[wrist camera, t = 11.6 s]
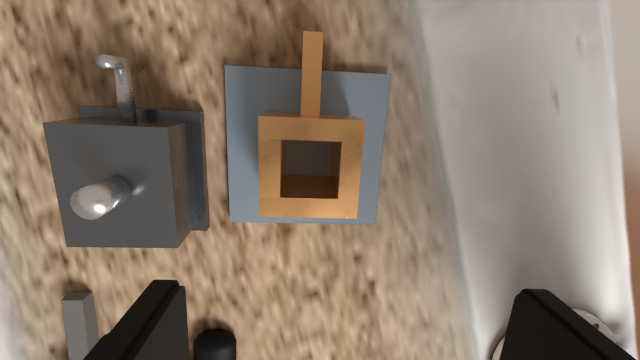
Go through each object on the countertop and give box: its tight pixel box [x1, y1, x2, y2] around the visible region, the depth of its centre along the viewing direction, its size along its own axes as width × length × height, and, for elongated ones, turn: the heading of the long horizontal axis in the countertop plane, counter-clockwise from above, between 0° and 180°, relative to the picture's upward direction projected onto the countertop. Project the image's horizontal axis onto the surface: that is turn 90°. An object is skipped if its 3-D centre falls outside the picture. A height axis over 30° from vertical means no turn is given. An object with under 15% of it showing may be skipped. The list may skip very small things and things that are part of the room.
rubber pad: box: [224, 65, 390, 224], centre depth 24 cm, size 12×12×1 cm
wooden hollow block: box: [258, 31, 365, 219], centre depth 21 cm, size 6×11×6 cm, turn 177°
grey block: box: [43, 53, 210, 248], centre depth 20 cm, size 8×13×8 cm, turn 177°
